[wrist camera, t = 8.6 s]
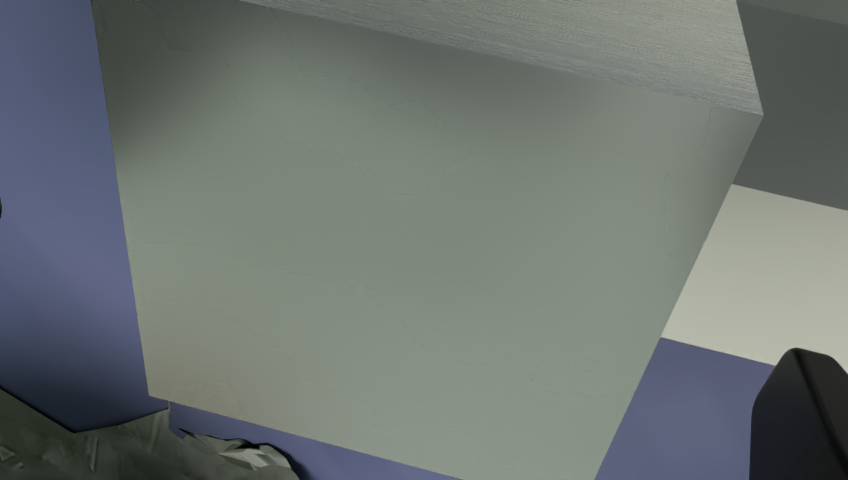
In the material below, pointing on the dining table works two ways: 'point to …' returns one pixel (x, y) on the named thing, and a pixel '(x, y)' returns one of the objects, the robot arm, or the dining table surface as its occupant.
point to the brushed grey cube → (420, 211)
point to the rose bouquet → (125, 451)
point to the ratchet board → (782, 200)
